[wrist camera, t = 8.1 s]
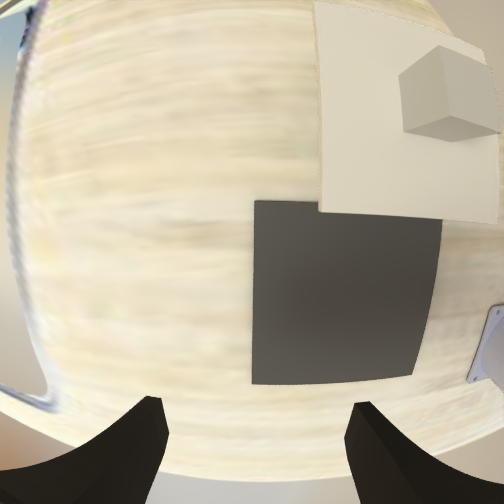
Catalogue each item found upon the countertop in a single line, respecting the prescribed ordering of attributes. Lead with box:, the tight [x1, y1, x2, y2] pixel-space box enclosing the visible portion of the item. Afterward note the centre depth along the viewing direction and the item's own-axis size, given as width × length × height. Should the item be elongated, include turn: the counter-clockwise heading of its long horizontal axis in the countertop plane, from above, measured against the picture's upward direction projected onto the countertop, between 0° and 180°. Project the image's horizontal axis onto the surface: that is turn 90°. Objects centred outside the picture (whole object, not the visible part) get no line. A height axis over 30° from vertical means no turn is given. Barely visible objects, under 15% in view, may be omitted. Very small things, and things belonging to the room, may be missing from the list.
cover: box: [312, 1, 502, 225], centre depth 9 cm, size 11×11×5 cm
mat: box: [252, 201, 442, 385], centre depth 19 cm, size 13×13×1 cm
